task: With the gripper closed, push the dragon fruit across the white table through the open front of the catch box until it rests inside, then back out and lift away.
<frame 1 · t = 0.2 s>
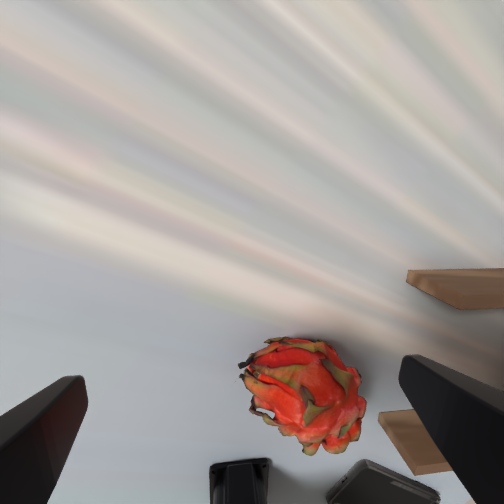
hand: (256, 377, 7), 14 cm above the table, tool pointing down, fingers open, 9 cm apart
phone: (380, 489, 32), on the table
dragon fruit: (289, 357, 24), on the table
catch box: (459, 348, 26), on the table
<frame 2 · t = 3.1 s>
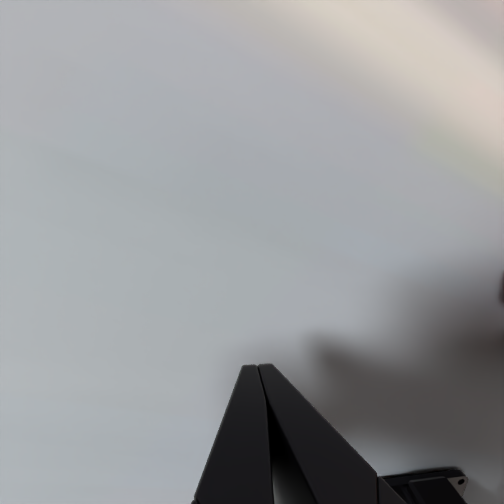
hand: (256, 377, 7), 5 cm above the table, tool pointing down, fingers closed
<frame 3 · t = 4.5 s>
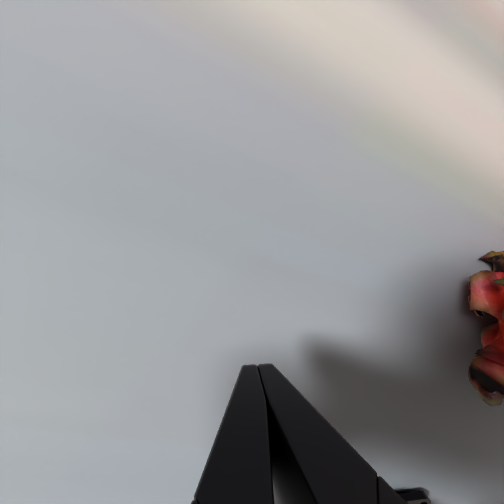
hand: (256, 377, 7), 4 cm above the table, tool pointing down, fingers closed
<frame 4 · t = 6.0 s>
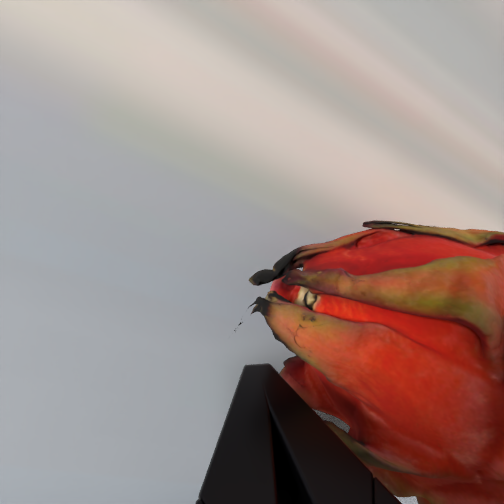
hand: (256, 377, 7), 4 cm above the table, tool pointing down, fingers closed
dragon fruit: (352, 303, 12), on the table, touching gripper
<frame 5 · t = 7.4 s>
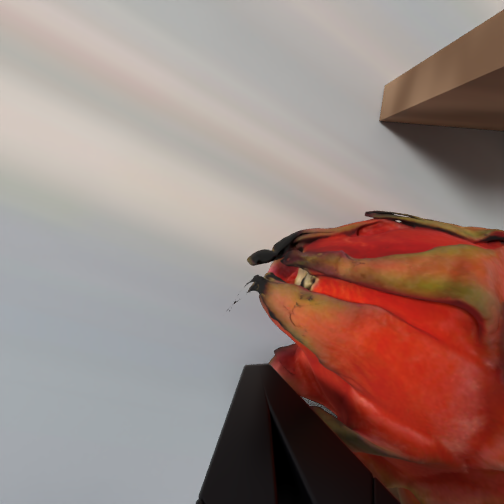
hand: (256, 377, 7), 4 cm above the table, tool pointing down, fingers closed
dragon fruit: (346, 300, 11), on the table, touching gripper
catch box: (498, 305, 12), on the table
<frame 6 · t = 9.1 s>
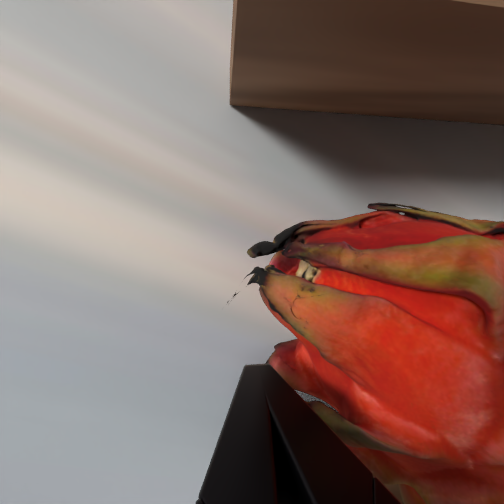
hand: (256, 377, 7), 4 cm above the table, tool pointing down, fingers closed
dragon fruit: (347, 296, 11), on the table, touching gripper
catch box: (396, 305, 12), on the table
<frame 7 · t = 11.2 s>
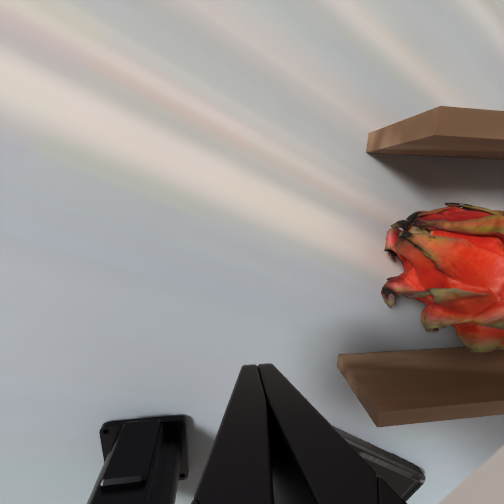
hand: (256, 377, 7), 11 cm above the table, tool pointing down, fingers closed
phone: (347, 466, 25), on the table
dragon fruit: (415, 257, 19), on the table
catch box: (444, 263, 20), on the table
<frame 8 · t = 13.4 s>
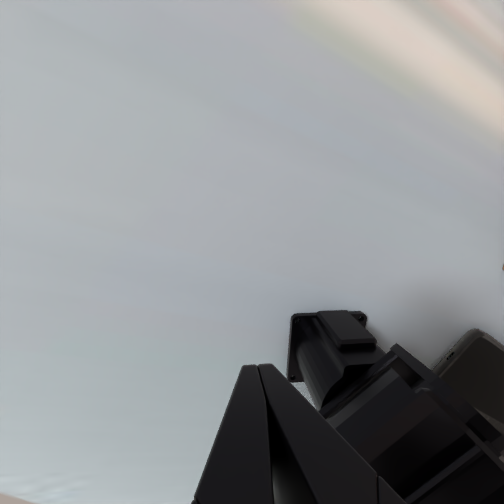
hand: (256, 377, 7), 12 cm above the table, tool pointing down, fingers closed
phone: (485, 380, 26), on the table
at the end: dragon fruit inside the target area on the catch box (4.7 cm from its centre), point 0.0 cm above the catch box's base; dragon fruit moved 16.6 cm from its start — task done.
